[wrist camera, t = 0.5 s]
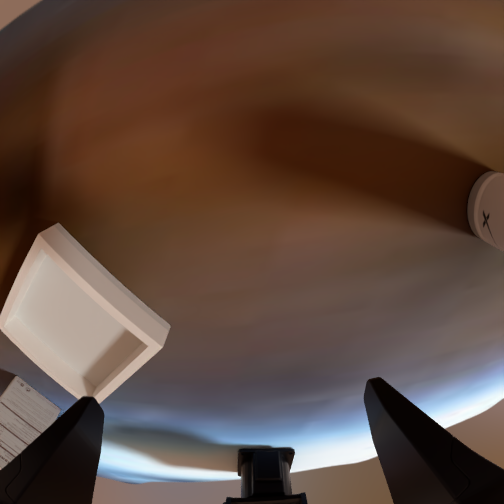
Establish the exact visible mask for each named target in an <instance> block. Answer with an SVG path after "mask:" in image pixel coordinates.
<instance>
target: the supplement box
mask: <svg viewBox="0 0 504 504" xmlns="http://www.w3.org/2000/svg"><path fill="white" fill-rule="evenodd" d="M60 411H61V410H60V408H59V407H57V406H56V405H55V404H53V403H52V402H50V401H49V400H48V399H46V398H45V397H44V396H42V395H41V394H40V393H38V392H37V391H36V390H35V389H33V388H32V387H31V386H29V385H28V384H27V383H26V382H24V381H23V380H22V379H21V378H19V377H18V376H15V377H14V379H13V380H12V381H11V383H10V384H9V385H8V387H7V388H6V390H5V391H4V392H3V394H2V395H1V396H0V470H1V469H2V468H3V467H5V466H6V465H7V464H8V463H9V462H11V461H12V460H13V459H14V458H15V457H16V456H17V455H18V454H19V453H21V452H22V451H23V450H24V449H25V448H26V447H27V446H28V445H29V444H31V443H32V442H33V441H34V440H35V439H36V438H37V437H38V436H39V435H40V434H41V433H43V432H44V431H45V430H46V429H47V428H48V427H49V426H50V425H51V424H52V423H54V422H55V420H56V418H57V416H58V414H59V413H60Z"/></svg>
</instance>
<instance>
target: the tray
mask: <svg viewBox="0 0 504 504" xmlns="http://www.w3.org/2000/svg"><path fill="white" fill-rule="evenodd" d="M170 327H171V325H169V324H168V323H167V322H166V321H164V320H163V319H162V318H161V317H160V316H158V315H157V314H156V313H155V312H154V311H152V310H151V309H150V308H149V307H148V306H146V305H145V304H144V303H143V302H142V301H141V300H140V299H138V298H137V297H136V296H135V295H134V294H133V293H132V292H130V291H129V290H128V289H127V288H126V287H125V286H124V285H123V284H121V283H120V282H119V281H118V280H117V279H116V278H115V277H114V276H113V275H112V274H110V273H109V272H108V271H107V270H106V269H105V268H104V267H103V266H102V265H101V264H100V263H99V262H98V261H97V260H96V259H95V258H93V257H92V256H91V255H90V254H89V253H88V252H87V251H86V250H85V249H84V248H83V247H82V246H81V245H80V244H79V243H78V242H77V241H76V240H75V239H74V238H73V237H72V236H71V235H70V234H69V233H68V232H67V231H66V230H65V229H64V228H63V227H62V226H61V224H60V223H57V224H55V225H53V226H51V227H50V228H48V229H46V230H44V231H42V232H41V233H39V234H38V235H37V237H36V239H35V241H34V243H33V245H32V247H31V249H30V251H29V253H28V255H27V256H26V258H25V261H24V263H23V265H22V267H21V269H20V271H19V273H18V275H17V277H16V279H15V282H14V284H13V286H12V288H11V291H10V293H9V295H8V298H7V300H6V303H5V305H4V307H3V310H2V312H1V315H0V329H1V330H2V331H3V333H4V334H5V335H6V336H7V337H8V338H9V339H10V340H11V341H12V342H13V343H14V344H15V345H16V346H17V347H18V348H19V349H20V350H21V351H23V352H24V353H25V354H26V355H27V356H28V357H29V358H30V359H31V360H32V361H33V362H34V363H35V364H37V365H38V366H39V367H40V368H41V369H42V370H43V371H44V372H46V373H47V374H48V375H49V376H50V377H51V378H53V379H54V380H55V381H56V382H57V383H59V384H60V385H61V386H62V387H64V388H65V389H66V390H67V391H69V392H70V393H71V394H72V395H74V396H75V397H76V398H78V399H80V398H81V397H83V396H93V397H94V398H95V399H96V400H97V402H98V403H101V402H102V401H103V400H104V399H105V398H106V397H107V396H109V395H110V394H111V393H112V392H113V391H114V390H115V389H116V388H118V387H119V386H120V385H121V384H122V383H123V382H124V381H126V380H127V379H128V378H129V377H130V376H131V375H132V374H133V373H135V372H136V371H137V370H138V369H139V368H140V367H141V366H142V365H144V364H145V363H146V362H147V361H148V360H149V359H150V358H151V357H153V356H154V355H155V354H156V353H157V352H158V351H159V350H160V349H162V348H163V345H164V343H165V340H166V337H167V335H168V332H169V329H170Z"/></svg>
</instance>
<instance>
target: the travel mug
mask: <svg viewBox="0 0 504 504" xmlns="http://www.w3.org/2000/svg"><path fill="white" fill-rule="evenodd" d="M467 214H468V221H469V225H470V227H471V229H472V231H473V233H474V234H475V235H476V236H477V237H478V238H480V239H482V240H483V241H485V242H487V243H489V244H491V245H492V246H494V247H496V248H498V249H499V250H501V251H503V252H504V173H500V172H496V171H490V172H487V173H485V174H483V175H482V176H480V178H479V179H478V180H477V181H476V182H475V184H474V185H473V187H472V190H471V192H470V195H469V199H468V207H467Z"/></svg>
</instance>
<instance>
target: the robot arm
mask: <svg viewBox="0 0 504 504" xmlns="http://www.w3.org/2000/svg"><path fill="white" fill-rule="evenodd" d="M364 403H365V407H366V412H367V416H368V421H369V425H370V430H371V435H372V439H373V443H374V446H375V449H376V451H377V454H378V457H379V460H380V463H381V466H382V469H383V472H384V475H385V478H386V481H387V484H388V487H389V490H390V493H391V496H392V499H393V503H394V504H504V469H502V468H501V467H499V466H497V465H496V464H494V463H492V462H490V461H489V460H487V459H485V458H484V457H482V456H480V455H479V454H477V453H476V452H474V451H473V450H471V449H470V448H468V447H467V446H466V445H464V444H463V443H462V442H460V441H459V440H458V439H457V438H455V437H453V436H452V435H451V434H450V433H449V432H448V431H446V430H445V429H444V428H443V427H441V426H440V425H439V424H438V423H436V422H435V421H434V420H433V419H431V418H430V417H429V416H428V415H426V414H425V413H424V412H423V411H422V410H420V409H419V408H418V407H417V406H415V405H414V404H413V403H412V402H410V401H409V400H408V399H407V398H405V397H404V396H403V395H402V394H400V393H399V392H398V391H397V390H396V389H394V388H393V387H392V386H391V385H389V384H388V383H387V382H386V381H384V380H383V379H382V378H380V377H376V378H372V379H369V380H368V381H367V384H366V388H365V393H364ZM103 424H104V412H103V410H102V408H101V407H100V405H99V403H98V402H97V400H96V399H95V398H94V397H93V396H83V397H81V398H80V399H79V400H78V401H77V402H76V403H75V404H73V405H72V406H71V407H70V408H69V409H68V410H67V411H66V412H65V413H63V414H62V415H61V416H60V417H59V418H58V419H57V420H56V421H55V422H54V423H52V424H51V425H50V426H49V427H48V428H47V429H46V430H45V431H44V432H43V433H41V434H40V435H39V436H38V437H37V438H36V439H35V440H34V441H33V442H32V443H31V444H29V445H28V446H27V447H26V448H25V449H24V450H23V451H22V452H21V453H19V454H18V455H17V456H16V457H15V458H14V459H13V460H12V461H11V462H9V463H8V464H7V465H6V466H5V467H3V468H2V469H1V470H0V504H92V498H93V492H94V486H95V480H96V475H97V469H98V464H99V459H100V453H101V444H102V434H103ZM294 455H295V451H294V449H240V450H239V451H238V476H241V498H232V497H227V499H226V502H224V503H223V504H307V499H306V494H305V492H304V493H300V494H292V489H291V481H290V469H291V465H292V462H293V458H294Z"/></svg>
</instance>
